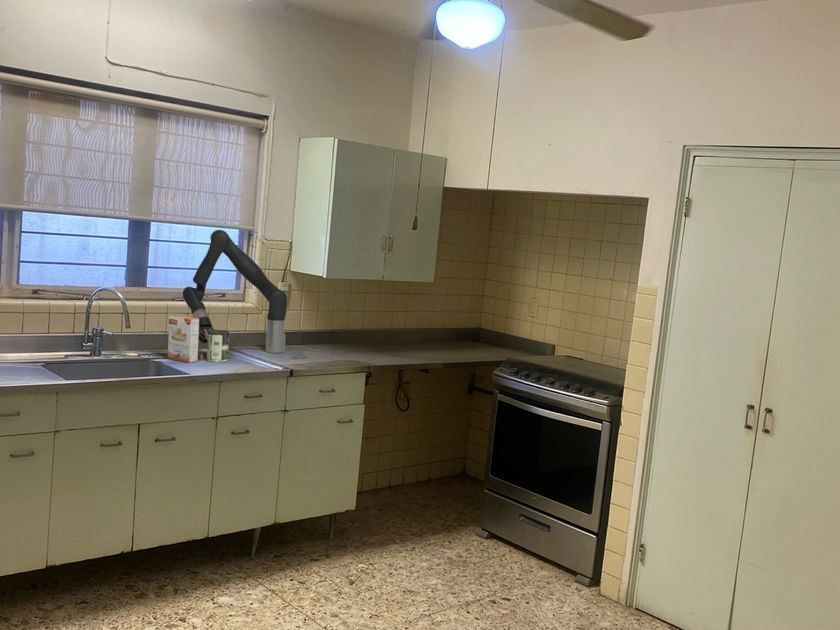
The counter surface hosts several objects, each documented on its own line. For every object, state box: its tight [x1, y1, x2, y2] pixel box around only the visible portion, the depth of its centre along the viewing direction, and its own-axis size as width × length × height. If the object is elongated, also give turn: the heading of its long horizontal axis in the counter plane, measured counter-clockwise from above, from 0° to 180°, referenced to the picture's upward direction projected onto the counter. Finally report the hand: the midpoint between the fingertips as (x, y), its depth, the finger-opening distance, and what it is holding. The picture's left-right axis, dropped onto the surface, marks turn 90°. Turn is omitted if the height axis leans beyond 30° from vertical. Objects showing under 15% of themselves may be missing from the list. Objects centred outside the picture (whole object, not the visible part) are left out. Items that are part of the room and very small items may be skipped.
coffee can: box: [206, 329, 230, 363], centre depth 383 cm, size 10×10×14 cm
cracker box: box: [167, 314, 199, 364], centre depth 375 cm, size 14×6×21 cm, turn 62°
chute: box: [198, 352, 231, 361], centre depth 389 cm, size 16×10×2 cm, turn 131°
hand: (212, 348), depth 388 cm, fingers closed
